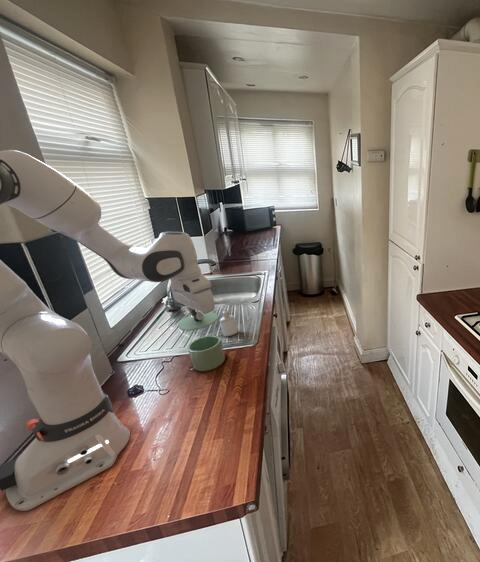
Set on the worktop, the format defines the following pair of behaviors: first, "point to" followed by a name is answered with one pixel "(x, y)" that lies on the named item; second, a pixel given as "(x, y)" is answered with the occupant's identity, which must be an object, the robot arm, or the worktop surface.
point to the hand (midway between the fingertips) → (197, 317)
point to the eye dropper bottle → (228, 324)
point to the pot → (206, 353)
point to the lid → (197, 321)
